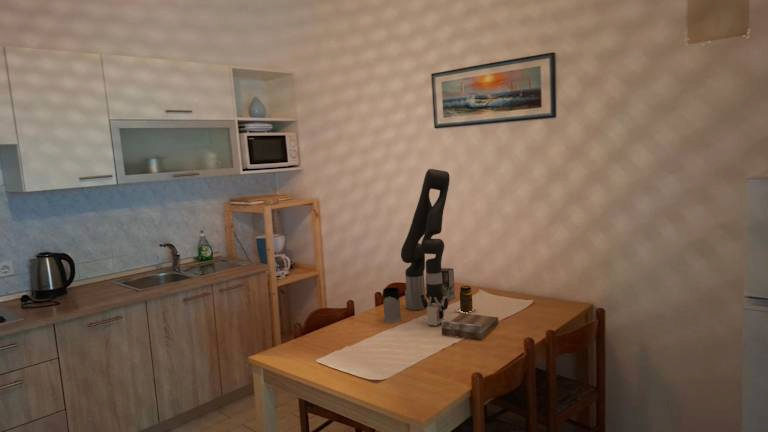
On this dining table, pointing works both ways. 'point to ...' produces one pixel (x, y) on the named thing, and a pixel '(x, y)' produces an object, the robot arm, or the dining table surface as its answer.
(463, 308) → the condiment
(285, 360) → the dining table surface
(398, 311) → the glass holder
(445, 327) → the grey rectangular slab
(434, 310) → the tea box
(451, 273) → the coffee box
